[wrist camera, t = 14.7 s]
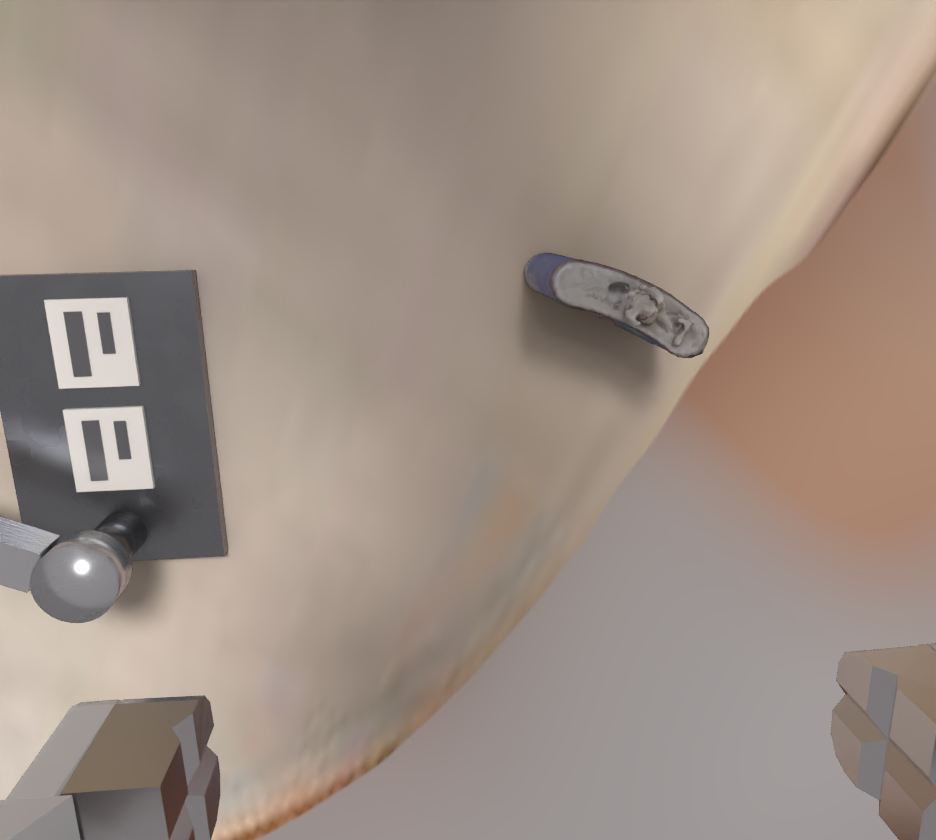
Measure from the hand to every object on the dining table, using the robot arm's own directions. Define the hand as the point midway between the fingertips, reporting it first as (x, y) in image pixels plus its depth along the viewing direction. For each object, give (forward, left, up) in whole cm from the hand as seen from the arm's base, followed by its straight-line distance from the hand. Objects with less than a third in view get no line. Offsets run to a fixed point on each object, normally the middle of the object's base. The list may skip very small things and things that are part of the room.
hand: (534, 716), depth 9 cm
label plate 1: (0, -20, -36) cm, 41 cm away
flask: (-2, +10, -37) cm, 39 cm away
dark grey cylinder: (+12, -20, -36) cm, 43 cm away
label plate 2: (+6, -20, -36) cm, 42 cm away
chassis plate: (+5, -20, -37) cm, 42 cm away
